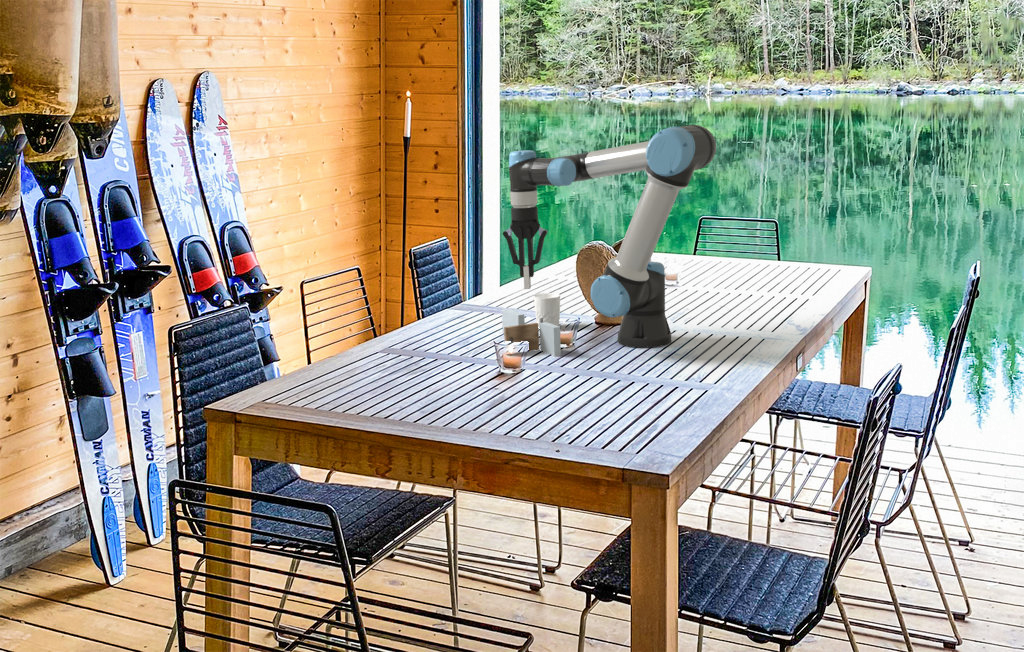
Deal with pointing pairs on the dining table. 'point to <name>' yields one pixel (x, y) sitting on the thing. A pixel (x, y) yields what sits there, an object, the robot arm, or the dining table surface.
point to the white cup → (547, 308)
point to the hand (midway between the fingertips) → (527, 288)
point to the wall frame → (547, 331)
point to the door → (523, 334)
